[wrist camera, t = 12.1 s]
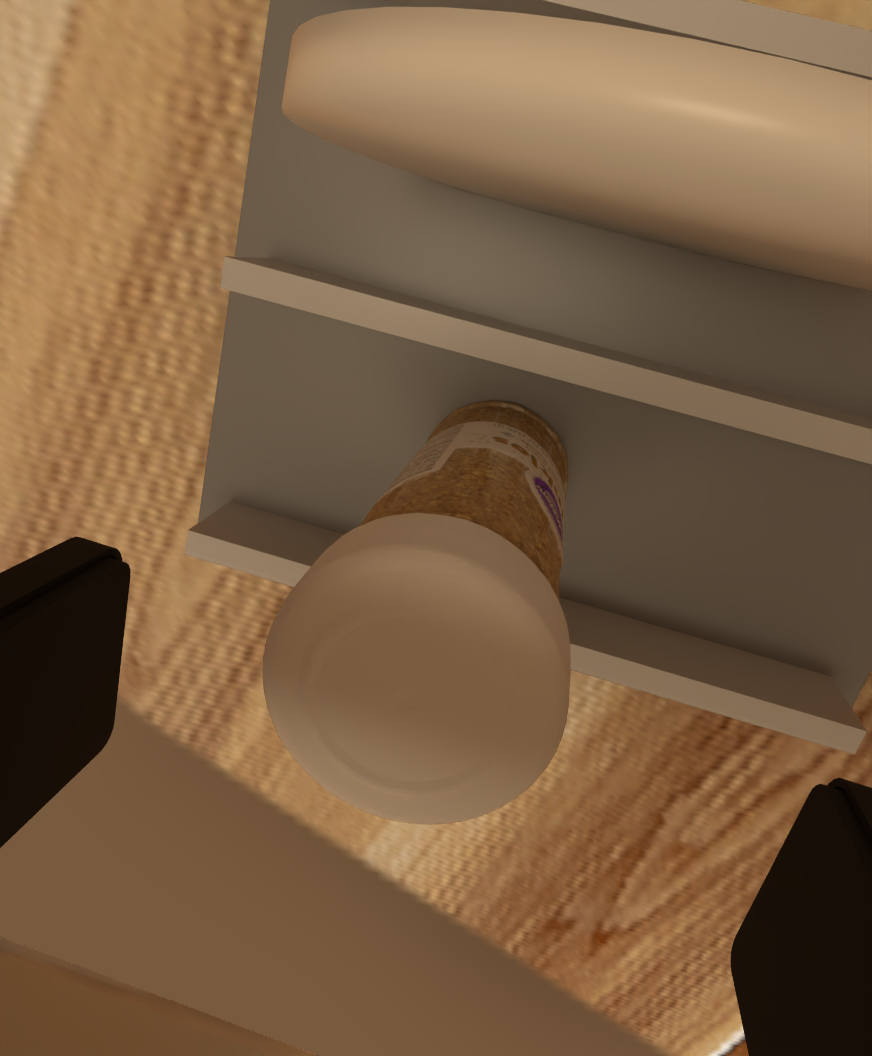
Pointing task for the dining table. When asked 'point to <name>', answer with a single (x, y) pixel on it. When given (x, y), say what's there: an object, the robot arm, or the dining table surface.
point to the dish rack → (575, 316)
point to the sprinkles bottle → (435, 630)
